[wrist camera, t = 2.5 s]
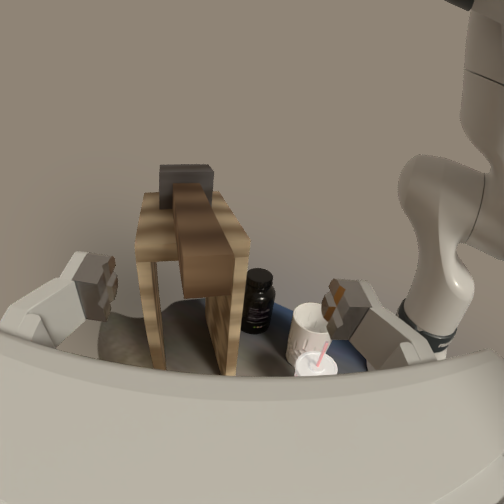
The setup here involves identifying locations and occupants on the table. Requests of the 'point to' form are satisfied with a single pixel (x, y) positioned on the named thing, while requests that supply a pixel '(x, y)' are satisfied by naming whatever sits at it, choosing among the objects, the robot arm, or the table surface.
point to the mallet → (196, 230)
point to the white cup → (306, 331)
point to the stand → (165, 249)
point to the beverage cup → (315, 363)
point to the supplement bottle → (257, 301)
